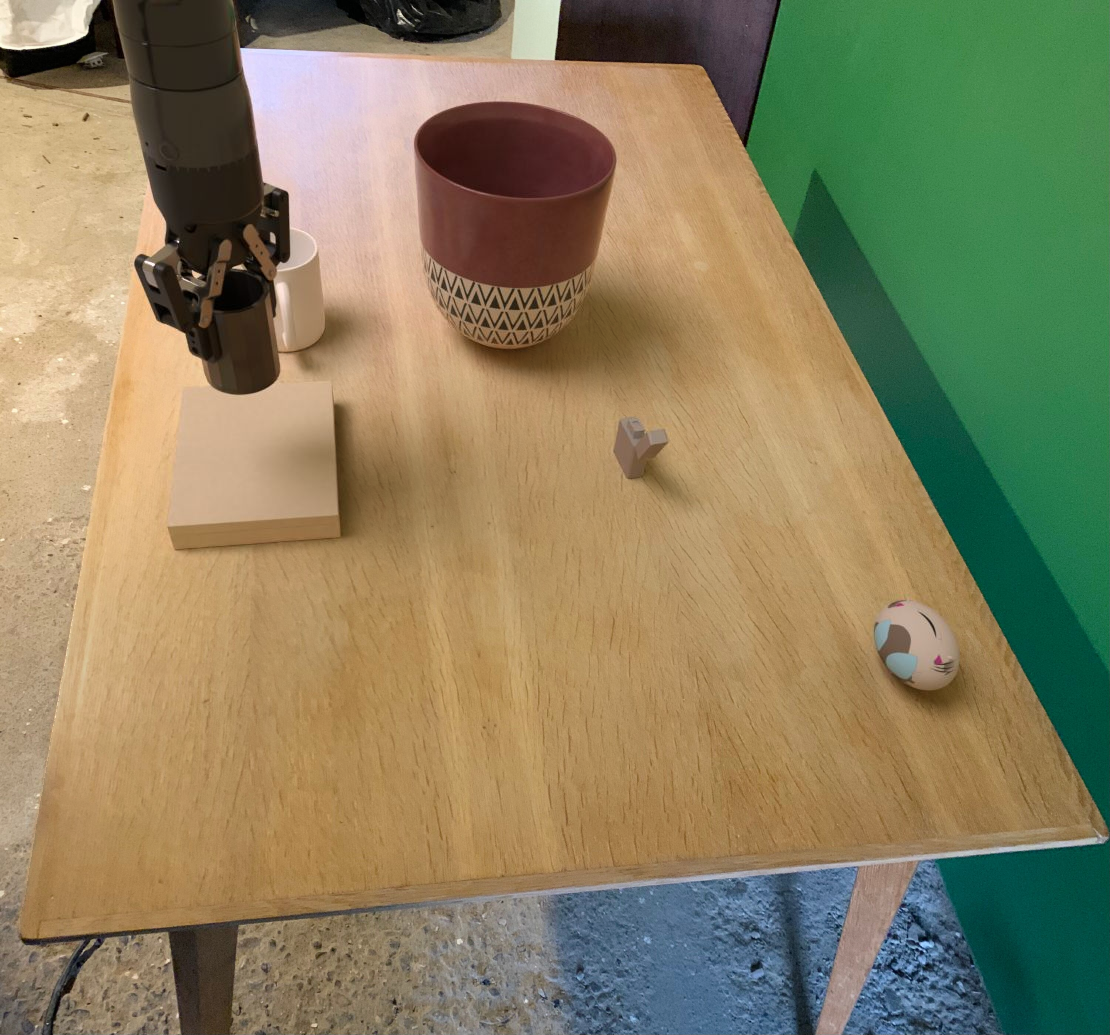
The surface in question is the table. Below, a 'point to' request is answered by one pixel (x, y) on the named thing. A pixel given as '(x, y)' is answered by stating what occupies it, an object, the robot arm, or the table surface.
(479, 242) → the planter
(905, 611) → the figurine
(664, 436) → the grey blocky piece
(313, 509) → the plate
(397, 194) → the table surface
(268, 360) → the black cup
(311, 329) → the cup
